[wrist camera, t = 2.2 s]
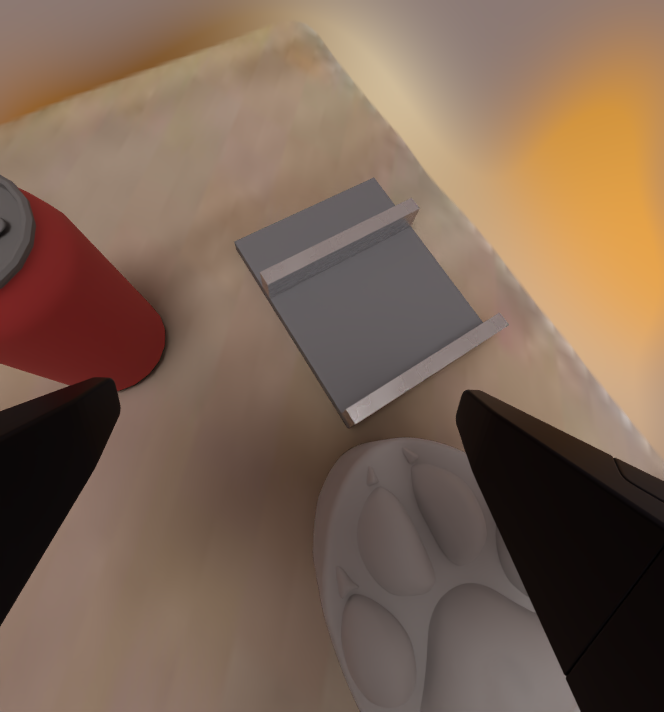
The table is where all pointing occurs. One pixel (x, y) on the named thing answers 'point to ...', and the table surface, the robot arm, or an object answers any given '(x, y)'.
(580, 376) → the table surface
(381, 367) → the rail board
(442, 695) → the paw print puck
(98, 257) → the beer can
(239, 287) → the table surface
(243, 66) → the table surface
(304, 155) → the table surface
